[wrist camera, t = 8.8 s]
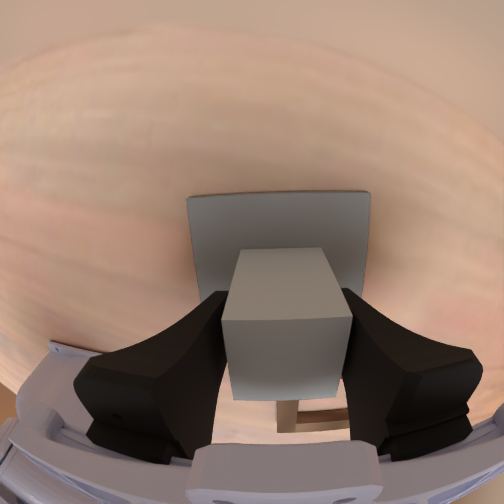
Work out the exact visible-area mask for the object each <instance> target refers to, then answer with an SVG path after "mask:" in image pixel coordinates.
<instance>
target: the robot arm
mask: <svg viewBox="0 0 504 504" xmlns="http://www.w3.org/2000/svg"><path fill="white" fill-rule="evenodd" d="M341 291H342V293H343V295H344V297H345V300H346V302H347V304H348V306H349V309H350V311H351V313H352V315H353V318H352V323H351V329H350V335H349V340H348V345H347V350H346V355H345V360H344V364H343V369H342V373H341V375H342V379H343V382H344V387H345V391H346V398H347V406H348V414H349V425H350V439H351V441H333V442H323V443H309V444H281V445H269V444H241V443H214V444H211V441H212V432H213V424H214V417H215V410H216V404H217V398H218V393H219V388H220V385H221V381H222V378H223V374H224V371H225V367H226V364H227V356H226V350H225V343H224V336H223V329H222V322H221V319H222V316H223V312H224V308H225V305H226V301H227V297H228V294H229V291H215V292H213V293H212V294H211V295H210V296H209V297H208V298H206V299H205V300H204V301H203V302H202V303H201V304H200V305H198V306H197V307H196V308H195V309H194V310H192V311H191V312H190V313H189V314H187V315H186V316H185V317H183V318H182V319H181V320H179V321H178V322H177V323H175V324H174V325H172V326H170V327H169V328H167V329H166V330H164V331H162V332H160V333H159V334H157V335H155V336H153V337H150V338H148V339H146V340H144V341H142V342H140V343H137V344H135V345H132V346H130V347H127V348H124V349H121V350H118V351H114V352H110V353H106V354H102V353H97V352H92V351H87V350H83V349H79V348H74V347H70V346H66V345H62V344H59V343H55V342H51V341H49V342H48V344H47V345H48V348H49V350H50V352H49V354H48V355H47V356H46V357H45V358H44V359H43V360H42V362H41V363H40V364H39V365H38V366H37V368H36V369H35V370H34V371H33V372H32V373H31V375H30V376H29V377H28V378H27V380H26V381H25V382H24V383H23V384H22V386H21V387H20V389H19V391H18V394H17V398H16V410H17V414H18V417H19V419H20V420H19V419H18V418H7V420H6V421H5V422H4V423H3V425H2V426H1V427H0V504H449V503H451V502H453V501H455V500H457V499H458V498H461V497H463V496H464V495H466V494H468V493H470V492H472V491H473V490H475V489H477V488H479V487H480V486H482V485H484V484H485V483H487V482H488V481H490V480H492V479H493V478H495V477H496V476H498V475H499V474H501V473H502V472H504V403H503V404H502V405H501V406H500V407H499V408H498V409H497V410H496V412H495V413H494V415H493V417H491V418H489V419H487V420H485V421H482V422H480V423H478V424H476V425H474V426H471V424H470V422H469V420H468V417H467V415H466V414H468V413H469V407H468V405H467V401H468V400H469V398H470V397H471V395H472V394H473V392H474V391H475V389H476V387H477V386H478V384H479V382H480V380H481V377H482V373H483V367H482V364H481V363H480V362H479V360H478V359H477V357H476V356H475V354H474V353H473V351H472V350H471V349H466V348H461V347H456V346H451V345H447V344H444V343H440V342H437V341H434V340H431V339H428V338H426V337H423V336H421V335H419V334H416V333H414V332H412V331H410V330H408V329H406V328H404V327H402V326H400V325H399V324H397V323H395V322H393V321H392V320H390V319H389V318H387V317H386V316H384V315H383V314H381V313H380V312H378V311H377V310H376V309H374V308H373V307H372V306H370V305H369V304H368V303H367V302H365V301H364V300H363V299H362V298H360V297H359V296H358V295H357V294H355V293H354V292H353V291H352V290H350V289H349V288H341Z"/></svg>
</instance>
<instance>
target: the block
mask: <svg viewBox="0 0 504 504" xmlns="http://www.w3.org/2000/svg"><path fill="white" fill-rule="evenodd" d="M352 318H353V315H352V313H351V311H350V309H349V306H348V304H347V302H346V300H345V297H344V295H343V293H342V291H341V288H340V286H339V284H338V282H337V280H336V278H335V275H334V273H333V271H332V269H331V267H330V265H329V263H328V261H327V259H326V257H325V255H324V252H323V250H322V248H321V247H314V248H276V249H241V250H240V254H239V258H238V261H237V265H236V268H235V272H234V276H233V279H232V283H231V286H230V290H229V294H228V297H227V301H226V305H225V308H224V312H223V316H222V319H221V322H222V329H223V336H224V343H225V350H226V356H227V363H228V369H229V375H230V381H231V387H232V393H233V399H234V400H246V401H280V400H304V399H319V398H330V397H336V394H337V390H338V386H339V381H340V377H341V373H342V369H343V364H344V360H345V355H346V350H347V345H348V340H349V335H350V329H351V323H352Z"/></svg>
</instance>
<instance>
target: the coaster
mask: <svg viewBox="0 0 504 504" xmlns="http://www.w3.org/2000/svg"><path fill="white" fill-rule="evenodd" d="M370 198H371V193H369V192H367V191H287V192H257V193H237V194H220V195H205V196H192V197H189V198H187V199H186V200H187V209H188V217H189V225H190V233H191V240H192V248H193V255H194V261H195V268H196V274H197V281H198V287H199V293H200V299H201V303H202V302H203V301H204V300H205V299H206V298H208V297H209V296H210V295H211V294H212V293H213V292H215V291H229V290H230V286H231V283H232V279H233V276H234V272H235V268H236V265H237V261H238V258H239V254H240V250H241V249H276V248H314V247H321V248H322V250H323V252H324V255H325V257H326V259H327V261H328V263H329V265H330V267H331V269H332V271H333V273H334V275H335V278H336V280H337V282H338V284H339V286H340V288H349V289H350V290H352V291H353V292H354V293H355V294H357V295H358V296H359V297H360V298H361V297H362V290H363V282H364V274H365V266H366V257H367V246H368V234H369V219H370Z"/></svg>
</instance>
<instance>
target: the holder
mask: <svg viewBox="0 0 504 504" xmlns="http://www.w3.org/2000/svg"><path fill="white" fill-rule="evenodd" d="M340 379H342V375H341V377H340ZM298 402H299V400H280V401H277V433H294V432H314V431H327V430H337V429H346V428H350V425H349V414H348V409H339V410H329V411H315V412H298Z"/></svg>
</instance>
